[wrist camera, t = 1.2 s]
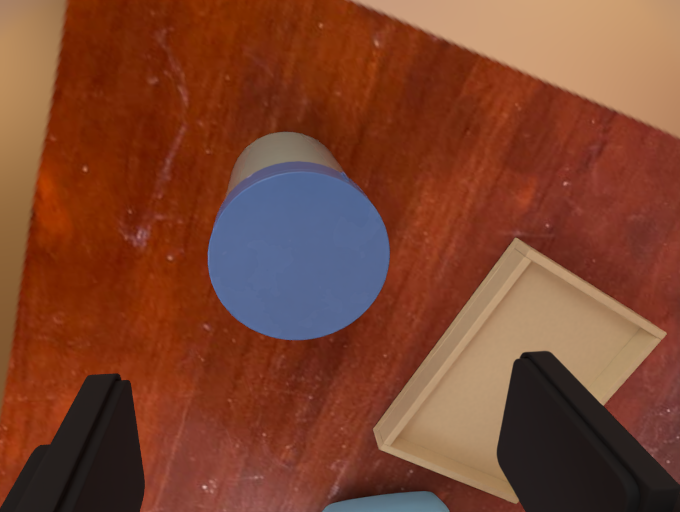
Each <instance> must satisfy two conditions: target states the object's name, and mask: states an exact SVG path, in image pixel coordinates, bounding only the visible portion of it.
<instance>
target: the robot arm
mask: <svg viewBox="0 0 680 512" xmlns="http://www.w3.org/2000/svg"><path fill="white" fill-rule="evenodd" d="M497 460H498V463H499V466H500V468H501V470H502V471H503V473H504V475H505V477H506V478H507V480H508V482H509V484H510V485H511V487H512V489H513V491H514V492H515V494H516V496H517V497H518V499H519V501H520V503H521V504H522V506H523V508H524V510H525V511H526V512H680V485H679V484H678V483H677V482H676V481H675V480H674V479H673V478H672V477H671V476H670V475H669V474H668V473H667V471H666V470H665V469H664V468H663V467H662V466H661V465H660V464H659V463H658V462H657V461H656V460H655V459H654V458H653V457H652V456H651V455H650V454H649V453H648V452H647V451H646V450H645V449H644V448H643V447H642V446H641V445H640V444H639V443H638V441H637V440H636V439H635V438H634V437H633V436H632V435H631V434H630V433H629V432H628V431H627V430H626V429H625V428H624V427H623V426H622V425H621V424H620V423H619V422H618V421H617V420H616V419H615V418H614V417H613V416H612V415H611V414H610V413H609V412H608V410H607V409H606V408H605V407H604V406H603V405H602V404H601V403H600V402H599V401H598V400H597V399H596V398H595V397H594V396H593V395H592V394H591V393H590V392H589V391H588V390H587V389H586V388H585V387H584V386H583V385H582V384H581V383H580V382H579V380H578V379H577V378H576V377H575V376H574V375H573V374H572V373H571V372H570V371H569V370H568V369H567V368H566V367H565V366H564V365H563V364H562V363H561V362H560V361H559V360H558V359H557V358H556V357H555V356H554V355H553V354H552V353H551V352H550V351H534V352H524V353H522V354H521V356H520V359H516V360H515V361H514V363H513V367H512V372H511V378H510V383H509V388H508V393H507V398H506V404H505V409H504V414H503V419H502V424H501V430H500V435H499V440H498V445H497ZM144 488H145V480H144V472H143V465H142V458H141V451H140V444H139V437H138V430H137V424H136V417H135V410H134V403H133V396H132V389H131V383H130V381H129V380H121V377H120V375H119V374H99V375H89V376H87V378H86V379H85V381H84V383H83V385H82V387H81V389H80V390H79V392H78V394H77V396H76V398H75V400H74V402H73V403H72V405H71V407H70V409H69V411H68V413H67V415H66V416H65V418H64V420H63V422H62V424H61V426H60V428H59V429H58V431H57V433H56V435H55V437H54V439H53V441H52V442H51V444H50V445H40V446H38V447H37V448H36V449H35V450H34V451H33V453H32V454H31V456H30V457H29V459H28V461H27V463H26V464H25V466H24V468H23V470H22V471H21V473H20V475H19V477H18V478H17V480H16V482H15V483H14V485H13V487H12V489H11V490H10V492H9V494H8V496H7V497H6V499H5V501H4V503H3V504H2V506H1V508H0V512H140V508H141V504H142V501H143V496H144Z"/></svg>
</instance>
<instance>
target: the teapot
mask: <svg viewBox="0 0 680 512" xmlns="http://www.w3.org/2000/svg"><path fill="white" fill-rule="evenodd" d="M322 512H450V511H449V509H448V508H447V506H446V505H445V504H444V503H443V502H442V501H441V500H440V499H439V498H438V497H437V496H436V495H435V494H434V493H432V492H429V491H415V492H403V493H393V494H384V495H376V496H369V497H363V498H356V499H350V500H345V501H340V502H335V503H332V504H330V505H328V506H326V507H325V509H324V510H323V511H322Z"/></svg>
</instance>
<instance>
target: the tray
mask: <svg viewBox="0 0 680 512" xmlns="http://www.w3.org/2000/svg"><path fill="white" fill-rule="evenodd" d="M666 334H667V333H666V332H664V331H663V330H661V329H660V328H658V327H657V326H656V325H654V324H653V323H651V322H650V321H648V320H647V319H645V318H644V317H642V316H641V315H639V314H637V313H636V312H634V311H633V310H631V309H629V308H628V307H626V306H625V305H623V304H621V303H620V302H618V301H617V300H615V299H613V298H612V297H610V296H609V295H607V294H606V293H604V292H602V291H601V290H599V289H598V288H596V287H594V286H593V285H591V284H590V283H588V282H586V281H585V280H583V279H582V278H580V277H578V276H577V275H575V274H574V273H572V272H570V271H569V270H567V269H566V268H564V267H562V266H561V265H559V264H558V263H556V262H554V261H553V260H551V259H550V258H548V257H546V256H545V255H543V254H542V253H540V252H538V251H537V250H535V249H534V248H532V247H531V246H529V245H527V244H526V243H524V242H523V241H521V240H519V239H518V238H515V239H514V240H513V241H512V243H511V244H510V245H509V247H508V248H507V249H506V251H505V252H504V253H503V255H502V256H501V258H500V259H499V260H498V262H497V263H496V264H495V266H494V267H493V268H492V270H491V271H490V272H489V274H488V275H487V276H486V278H485V279H484V280H483V282H482V283H481V284H480V286H479V287H478V288H477V290H476V291H475V293H474V294H473V295H472V297H471V298H470V299H469V301H468V302H467V303H466V305H465V306H464V307H463V309H462V310H461V311H460V313H459V314H458V315H457V317H456V318H455V319H454V321H453V322H452V323H451V325H450V326H449V327H448V329H447V330H446V332H445V333H444V334H443V336H442V337H441V338H440V340H439V341H438V342H437V344H436V345H435V346H434V348H433V349H432V350H431V352H430V353H429V354H428V356H427V357H426V358H425V360H424V361H423V362H422V364H421V365H420V367H419V368H418V369H417V371H416V372H415V373H414V375H413V376H412V377H411V379H410V380H409V381H408V383H407V384H406V385H405V387H404V388H403V389H402V391H401V392H400V393H399V395H398V396H397V397H396V399H395V400H394V401H393V403H392V404H391V406H390V407H389V408H388V410H387V411H386V412H385V414H384V415H383V416H382V418H381V419H380V420H379V422H378V423H377V424H376V426H375V427H374V428H373V431H374V434H375V438H376V441H377V444H378V448H379V450H382V451H384V452H387V453H389V454H392V455H394V456H397V457H399V458H402V459H404V460H407V461H409V462H412V463H414V464H417V465H419V466H422V467H424V468H427V469H429V470H432V471H434V472H437V473H439V474H442V475H444V476H447V477H449V478H452V479H455V480H457V481H460V482H462V483H465V484H467V485H470V486H472V487H475V488H477V489H480V490H482V491H485V492H487V493H490V494H492V495H495V496H497V497H500V498H502V499H505V500H507V501H510V502H512V503H515V504H517V503H518V501H519V499H518V497H517V496H516V494H515V492H514V491H513V489H512V487H511V485H510V484H509V482H508V480H507V478H506V477H505V475H504V473H503V471H502V470H501V468H500V466H499V463H498V460H497V445H498V440H499V435H500V430H501V424H502V419H503V414H504V409H505V404H506V398H507V393H508V388H509V383H510V378H511V372H512V367H513V363H514V361H515V360H516V359H520V356H521V354H522V353H524V352H534V351H550V352H551V353H552V354H553V355H554V356H555V357H556V358H557V359H558V360H559V361H560V362H561V363H562V364H563V365H564V366H565V367H566V368H567V369H568V370H569V371H570V372H571V373H572V374H573V375H574V376H575V377H576V378H577V379H578V380H579V382H580V383H581V384H582V385H583V386H584V387H585V388H586V389H587V390H588V391H589V392H590V393H591V394H592V395H593V396H594V397H595V398H596V399H597V400H598V401H599V402H600V403H601V404H602V405H603V406H604V404H605V403H606V402H607V401H608V400H609V399H610V398H611V396H612V395H613V394H614V393H615V392H616V391H617V390H618V389H619V387H620V386H621V385H622V384H623V383H624V382H625V381H626V380H627V378H628V377H629V376H630V375H631V374H632V373H633V372H634V371H635V369H636V368H637V367H638V366H639V365H640V364H641V363H642V361H643V360H644V359H645V358H646V357H647V356H648V355H649V354H650V352H651V351H652V350H653V349H654V348H655V347H656V346H657V345H658V343H659V342H660V341H661V340H662V339H663V338H664V337H665V336H666Z"/></svg>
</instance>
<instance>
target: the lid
mask: <svg viewBox="0 0 680 512" xmlns="http://www.w3.org/2000/svg"><path fill="white" fill-rule="evenodd" d="M389 260H390V247H389V239H388V235H387V231H386V228H385V225H384V223H383V221H382V218H381V216H380V215H379V213H378V211H377V210H376V208H375V207H374V205H373V204H372V203H371V201H370V200H369V199H368V197H367V196H366V195H365V193H364V192H363V191H362V190H361V188H360V187H359V186H358V185H357V184H355V183H354V182H353V181H352V180H351V179H350V178H348V177H347V176H346V174H345V173H344V172H343V171H342V172H339V171H337V170H335V169H333V168H330V167H327V166H324V165H321V164H317V163H312V162H301V161H295V162H284V163H279V164H274V165H271V166H268V167H265V168H263V169H261V170H259V171H257V172H254V173H253V174H251V175H250V176H248V177H247V178H245V179H244V180H243V181H241V182H240V183H239V184H238V185H237V186H236V187H235V188H234V189H233V190H232V191H231V192H230V193H229V195H228V196H227V197H226V199H225V200H224V202H223V204H222V205H221V207H220V209H219V212H218V214H217V216H216V220H215V223H214V226H213V230H212V234H211V237H210V241H209V248H208V268H209V275H210V278H211V282H212V285H213V287H214V290H215V292H216V294H217V296H218V298H219V299H220V301H221V302H222V304H223V305H224V306H225V308H226V309H227V310H228V311H229V312H230V313H231V314H232V315H233V316H234V317H235V318H236V319H237V320H238V321H240V322H241V323H243V324H244V325H246V326H247V327H249V328H251V329H253V330H255V331H256V332H259V333H261V334H264V335H267V336H270V337H274V338H278V339H286V340H306V339H314V338H318V337H323V336H326V335H329V334H332V333H334V332H336V331H338V330H340V329H343V328H344V327H346V326H348V325H349V324H351V323H352V322H354V321H355V320H356V319H357V318H359V317H360V316H361V315H362V314H363V313H364V312H365V311H366V310H367V309H368V308H369V307H370V306H371V304H372V303H373V302H374V300H375V299H376V297H377V296H378V294H379V292H380V291H381V289H382V286H383V284H384V282H385V279H386V275H387V272H388V267H389Z"/></svg>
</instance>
